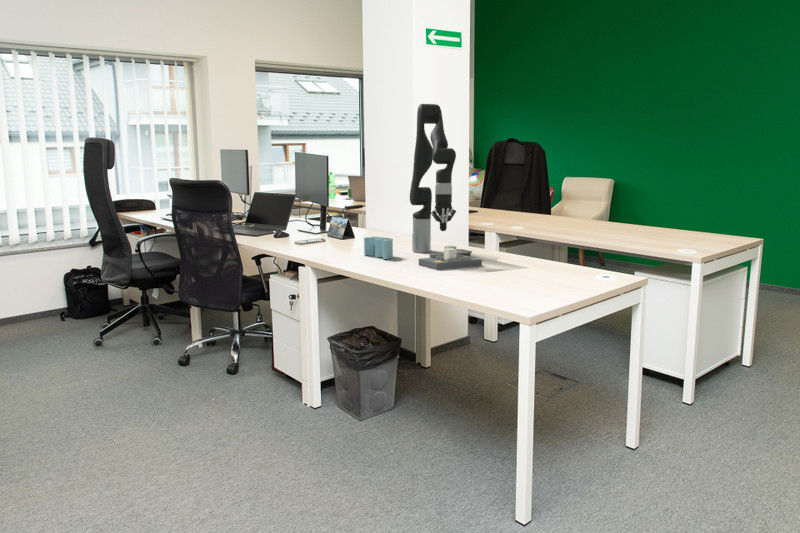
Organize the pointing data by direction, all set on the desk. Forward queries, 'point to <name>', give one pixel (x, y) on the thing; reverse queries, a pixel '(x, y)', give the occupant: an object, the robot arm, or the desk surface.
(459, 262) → the switch panel
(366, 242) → the squiggly pen holder
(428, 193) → the robot arm
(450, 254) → the cream tab
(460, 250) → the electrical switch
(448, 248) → the pale green block
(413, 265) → the desk surface
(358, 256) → the desk surface
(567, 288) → the desk surface
